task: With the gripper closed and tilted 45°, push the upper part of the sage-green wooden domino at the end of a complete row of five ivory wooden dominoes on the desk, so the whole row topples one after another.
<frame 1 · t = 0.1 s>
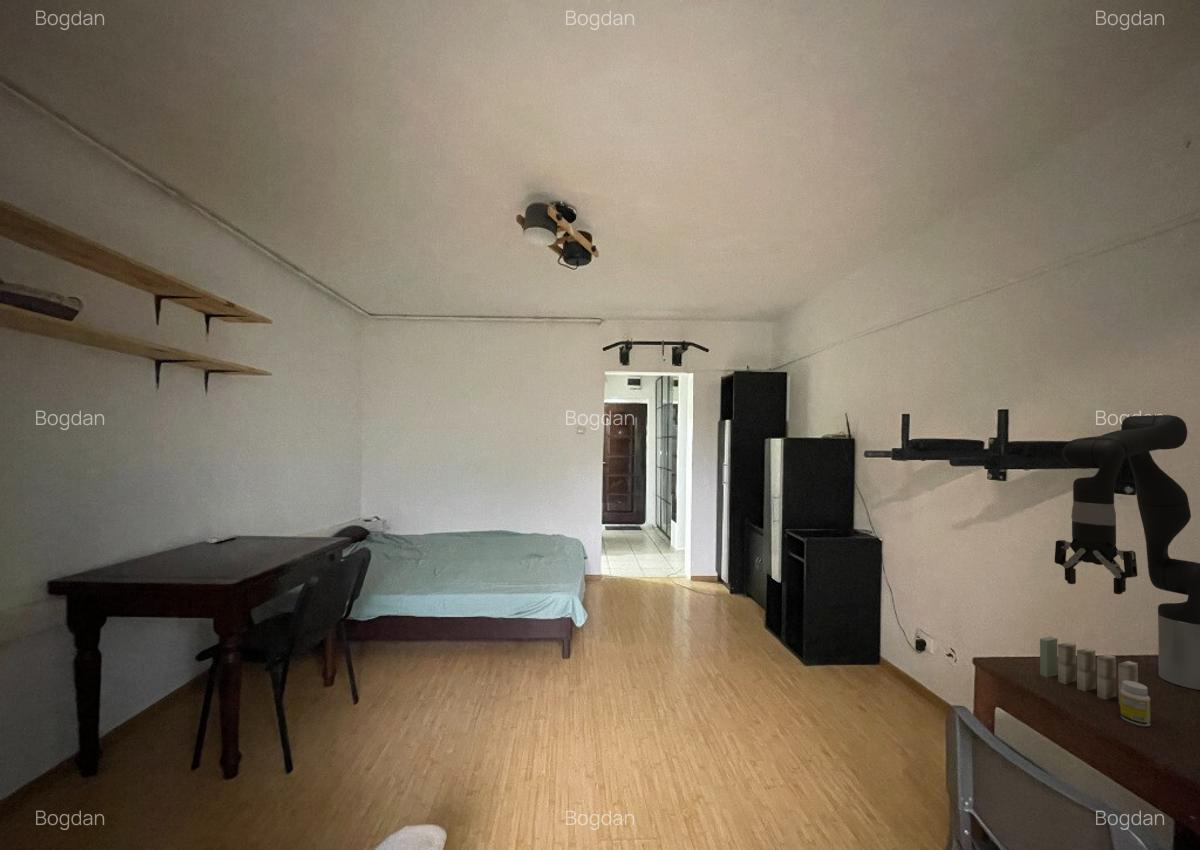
hand: (1093, 588, 117), 29 cm above the table, tool pointing down, fingers open, 8 cm apart
domino 1: (1048, 675, 135), on the table
domino 3: (1086, 688, 127), on the table
supplement bottle: (1135, 722, 112), on the table
domino 4: (1106, 696, 123), on the table
domino 2: (1067, 681, 131), on the table
domino 5: (1128, 704, 120), on the table
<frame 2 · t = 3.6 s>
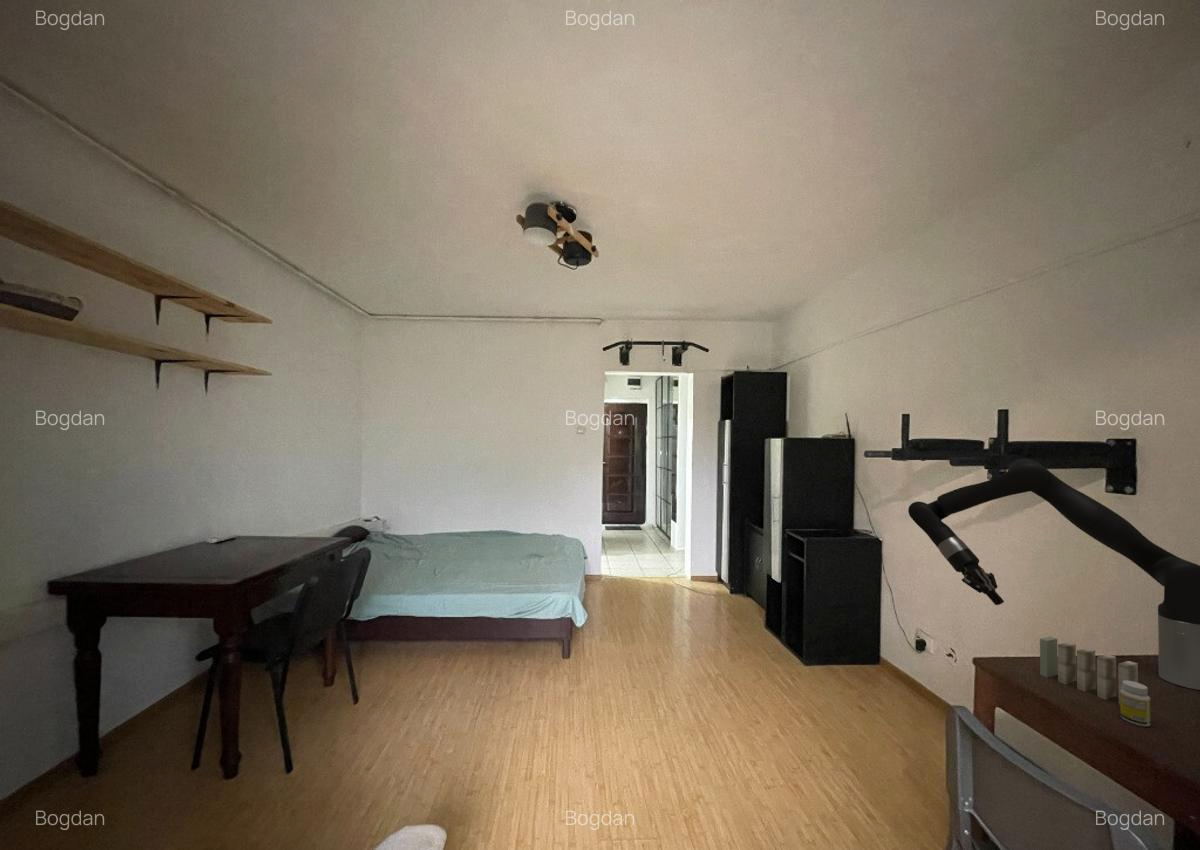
hand: (1000, 603, 146), 16 cm above the table, tool tilted 45°, fingers closed
nothing on the table moved.
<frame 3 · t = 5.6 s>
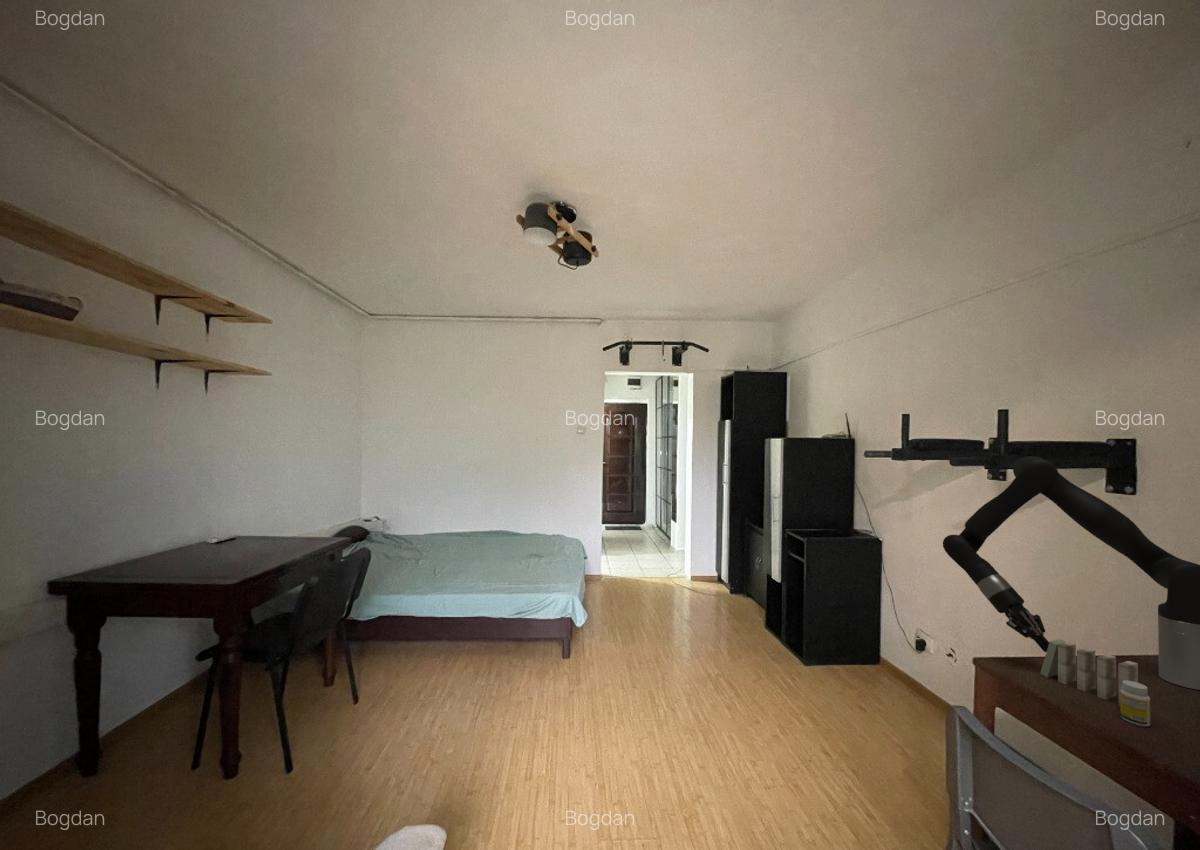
hand: (1049, 650, 135), 7 cm above the table, tool tilted 45°, fingers closed
domino 1: (1048, 674, 135), on the table, tilted 12°
everything else where it was.
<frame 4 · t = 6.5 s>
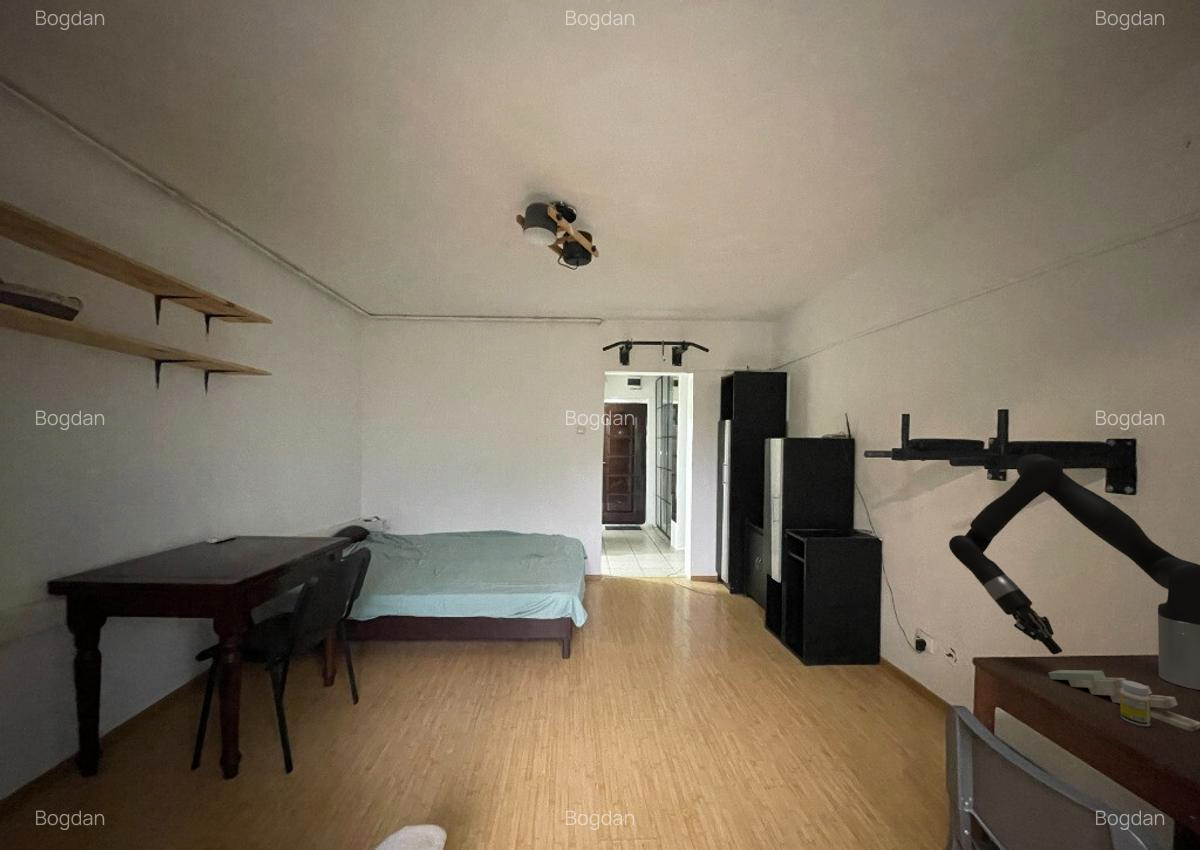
hand: (1058, 653, 133), 7 cm above the table, tool tilted 45°, fingers closed
domino 1: (1054, 674, 133), point 1 cm above the table, tilted 67°, touching domino 2
domino 3: (1095, 689, 125), point 1 cm above the table, tilted 67°, touching domino 2, domino 4
domino 4: (1116, 697, 122), point 1 cm above the table, tilted 71°, touching domino 3
domino 2: (1074, 681, 129), point 1 cm above the table, tilted 67°, touching domino 1, domino 3
domino 5: (1134, 705, 119), on the table, tilted 90°
everything else where it was.
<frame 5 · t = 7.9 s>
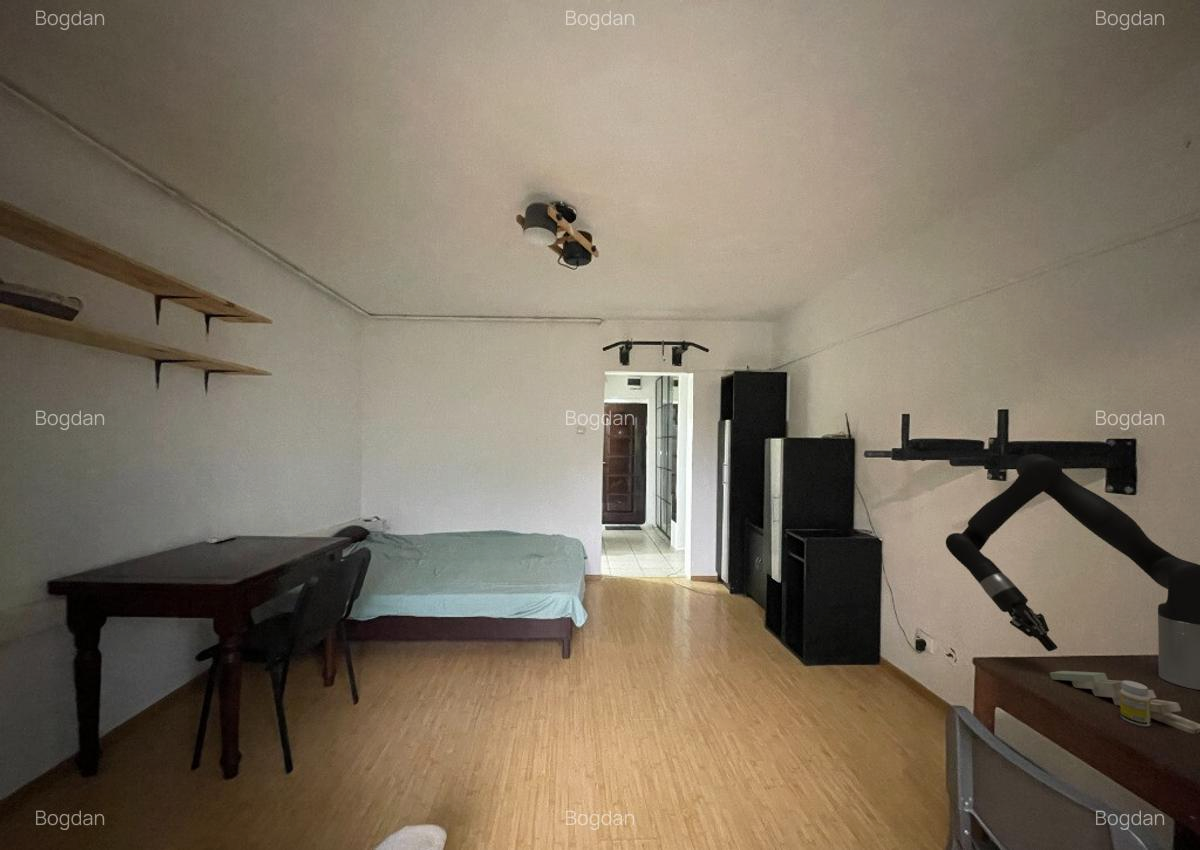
hand: (1053, 649, 134), 7 cm above the table, tool tilted 45°, fingers closed
domino 1: (1056, 675, 133), point 1 cm above the table, tilted 69°
domino 3: (1100, 691, 124), point 1 cm above the table, tilted 68°, touching domino 2, domino 4
domino 4: (1122, 699, 120), point 1 cm above the table, tilted 72°, touching domino 3
domino 2: (1079, 683, 129), point 1 cm above the table, tilted 68°, touching domino 3
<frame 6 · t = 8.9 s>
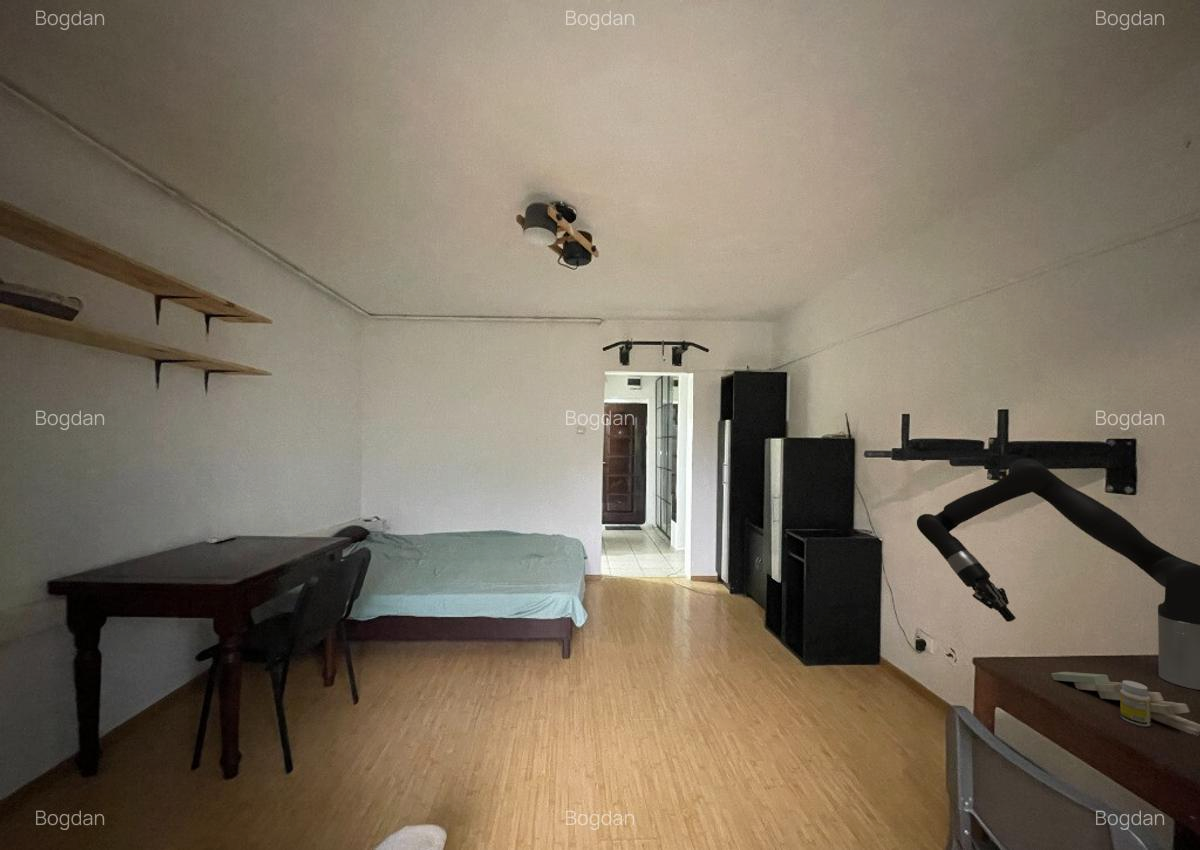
hand: (1011, 620, 143), 12 cm above the table, tool tilted 45°, fingers closed
domino 1: (1058, 675, 133), point 1 cm above the table, tilted 70°, touching domino 2
domino 3: (1107, 693, 123), point 1 cm above the table, tilted 68°, touching domino 2, domino 4
domino 4: (1130, 702, 118), point 1 cm above the table, tilted 70°, touching domino 3, domino 5
domino 2: (1083, 684, 128), point 1 cm above the table, tilted 68°, touching domino 1, domino 3
domino 5: (1142, 709, 117), on the table, tilted 90°, touching domino 4
everything else where it was.
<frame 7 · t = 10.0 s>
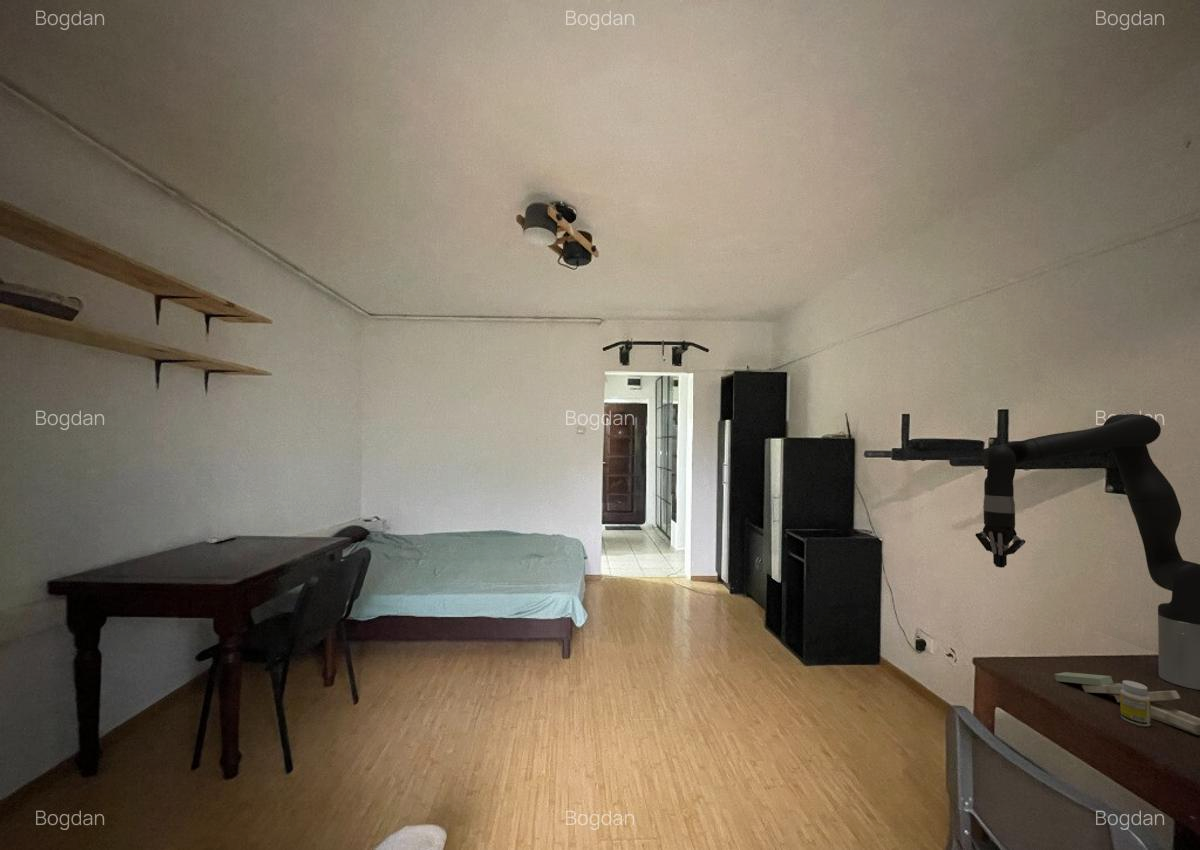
hand: (999, 566, 149), 26 cm above the table, tool pointing down, fingers closed
domino 3: (1121, 697, 121), point 1 cm above the table, tilted 61°, touching domino 2, domino 4
domino 4: (1144, 703, 117), point 2 cm above the table, tilted 90°, touching domino 3, domino 5
domino 2: (1089, 687, 127), point 1 cm above the table, tilted 66°, touching domino 1, domino 3
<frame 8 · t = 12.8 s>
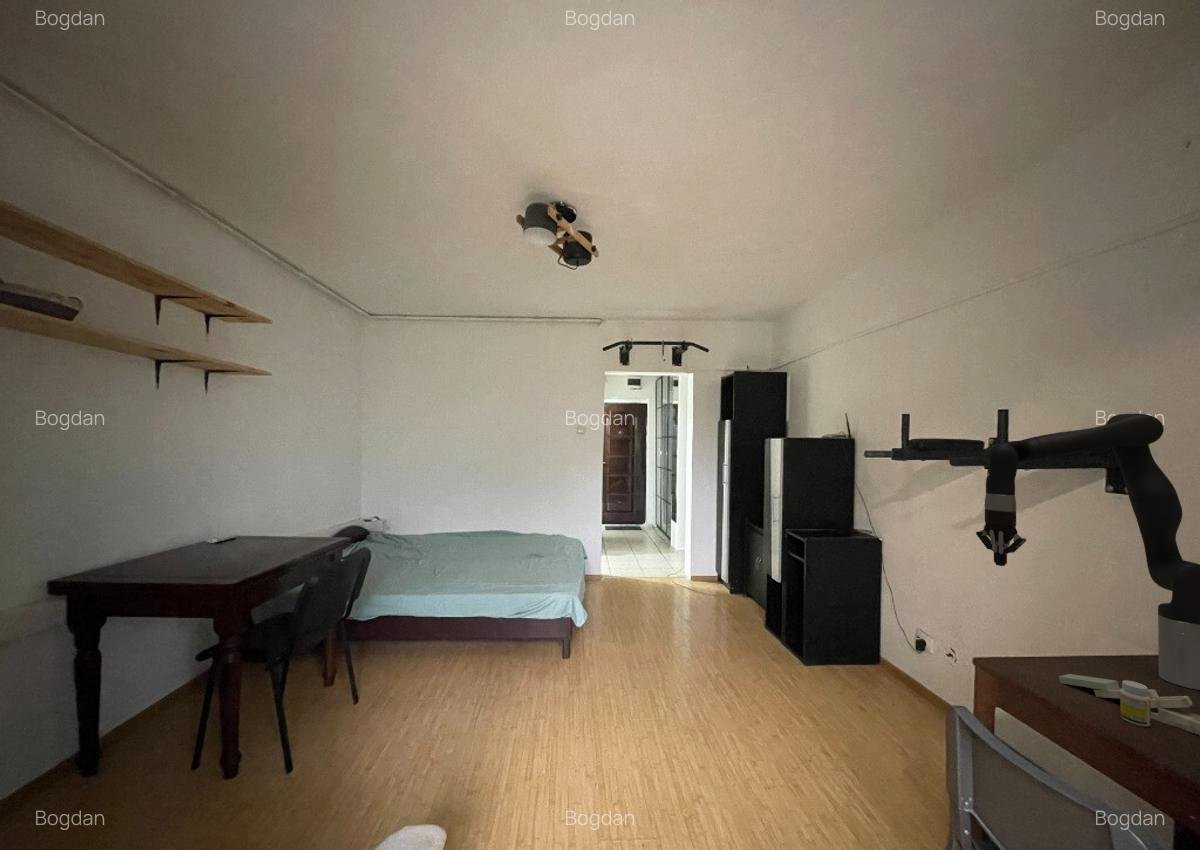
hand: (1000, 565, 148), 27 cm above the table, tool pointing down, fingers closed
domino 1: (1065, 678, 131), point 1 cm above the table, tilted 75°, touching domino 2
domino 3: (1131, 702, 119), point 1 cm above the table, tilted 64°, touching domino 2, domino 4
domino 4: (1163, 710, 114), point 2 cm above the table, tilted 90°, touching domino 3, domino 5
domino 2: (1100, 691, 124), point 1 cm above the table, tilted 68°, touching domino 1, domino 3
at the end: domino 5 tilted 90°; domino 1 tilted 75°; supplement bottle moved 0.2 cm from its start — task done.
